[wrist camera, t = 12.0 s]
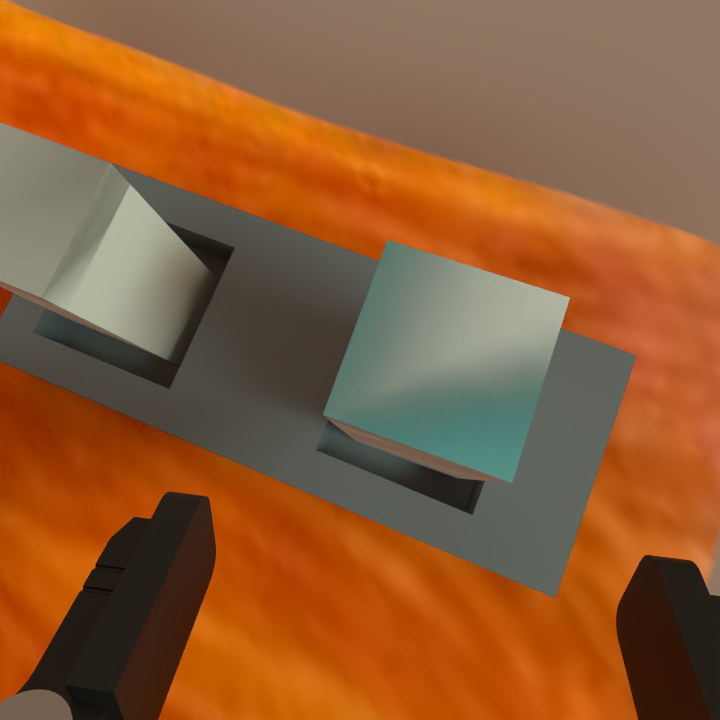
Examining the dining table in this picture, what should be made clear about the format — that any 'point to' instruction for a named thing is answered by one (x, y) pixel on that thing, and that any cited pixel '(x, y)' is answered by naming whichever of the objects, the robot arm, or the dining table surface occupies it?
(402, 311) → the plug
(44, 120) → the dining table surface
